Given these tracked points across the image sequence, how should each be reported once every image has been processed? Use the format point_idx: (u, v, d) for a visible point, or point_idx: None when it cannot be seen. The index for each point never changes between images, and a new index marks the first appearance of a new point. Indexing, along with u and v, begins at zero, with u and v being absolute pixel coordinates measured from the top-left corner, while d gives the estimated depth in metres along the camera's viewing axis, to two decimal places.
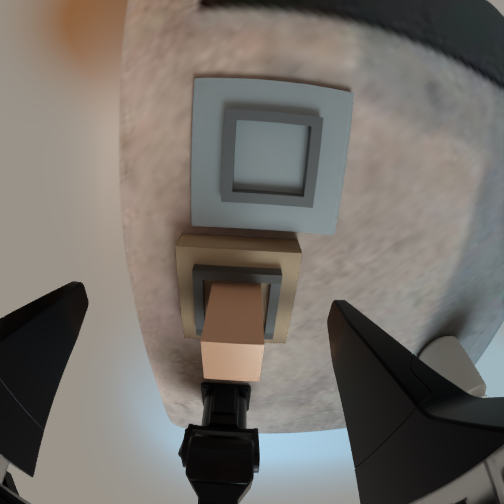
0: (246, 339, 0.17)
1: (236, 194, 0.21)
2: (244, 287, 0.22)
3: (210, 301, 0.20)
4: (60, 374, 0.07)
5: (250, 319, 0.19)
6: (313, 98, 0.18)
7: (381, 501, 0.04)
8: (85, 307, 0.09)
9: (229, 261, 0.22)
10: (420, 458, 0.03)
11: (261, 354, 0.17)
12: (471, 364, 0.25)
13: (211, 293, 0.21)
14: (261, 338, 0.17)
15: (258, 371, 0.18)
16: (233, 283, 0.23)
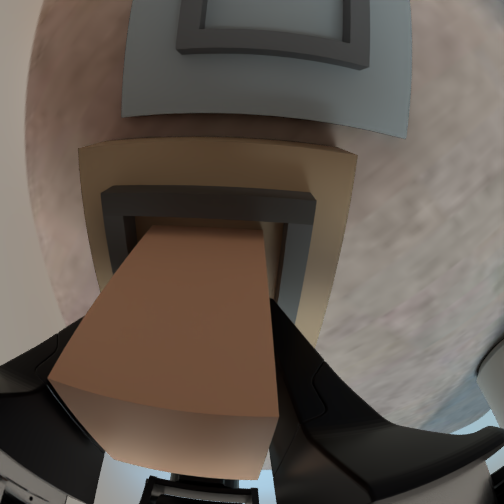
0: (204, 389, 0.04)
1: (208, 33, 0.07)
2: (222, 236, 0.09)
3: (127, 262, 0.07)
4: None
5: (227, 314, 0.06)
6: None
7: None
8: None
9: (188, 172, 0.09)
10: (305, 483, 0.03)
11: (266, 439, 0.04)
12: None
13: (138, 246, 0.08)
14: (266, 387, 0.04)
15: (255, 468, 0.05)
16: (197, 228, 0.10)
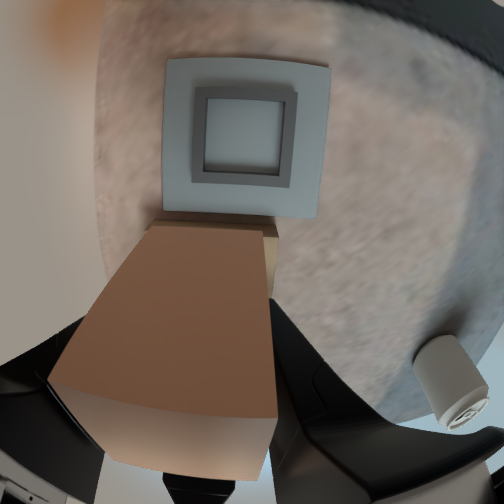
0: (204, 391, 0.04)
1: (207, 174, 0.19)
2: (221, 237, 0.09)
3: (126, 263, 0.07)
4: None
5: (227, 316, 0.06)
6: (288, 74, 0.17)
7: None
8: None
9: None
10: (305, 483, 0.03)
11: (265, 441, 0.04)
12: (472, 364, 0.23)
13: (137, 247, 0.08)
14: (265, 389, 0.04)
15: (254, 469, 0.05)
16: (197, 229, 0.10)
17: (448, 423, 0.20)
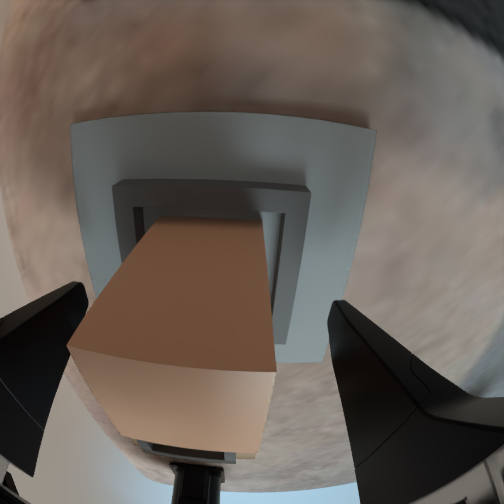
0: (210, 349, 0.05)
1: None
2: (224, 225, 0.10)
3: (138, 248, 0.08)
4: (61, 374, 0.07)
5: (230, 289, 0.06)
6: (292, 145, 0.09)
7: (380, 501, 0.04)
8: (85, 307, 0.09)
9: None
10: (419, 458, 0.03)
11: (265, 400, 0.05)
12: None
13: (147, 234, 0.09)
14: (265, 347, 0.05)
15: (256, 437, 0.06)
16: (201, 219, 0.10)
17: None
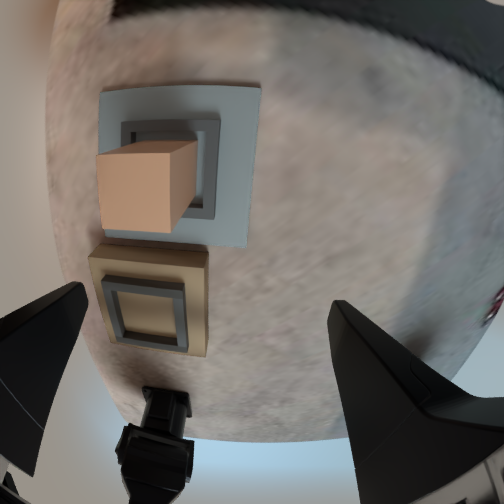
0: (150, 151, 0.12)
1: None
2: (176, 140, 0.17)
3: (131, 144, 0.15)
4: (61, 374, 0.07)
5: (166, 147, 0.14)
6: (213, 99, 0.17)
7: (381, 501, 0.04)
8: (85, 307, 0.09)
9: (135, 273, 0.21)
10: (420, 458, 0.03)
11: (167, 172, 0.12)
12: None
13: (136, 142, 0.16)
14: (170, 151, 0.12)
15: (167, 209, 0.13)
16: (166, 140, 0.18)
17: None
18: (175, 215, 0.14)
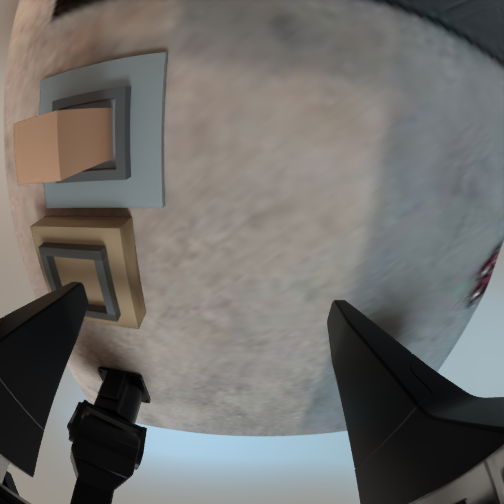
0: (47, 113, 0.11)
1: None
2: None
3: None
4: (61, 374, 0.07)
5: None
6: (124, 70, 0.15)
7: (380, 501, 0.04)
8: (85, 307, 0.09)
9: (65, 238, 0.19)
10: (419, 458, 0.03)
11: (56, 127, 0.11)
12: None
13: None
14: (60, 110, 0.11)
15: (56, 159, 0.12)
16: None
17: None
18: (69, 167, 0.13)
